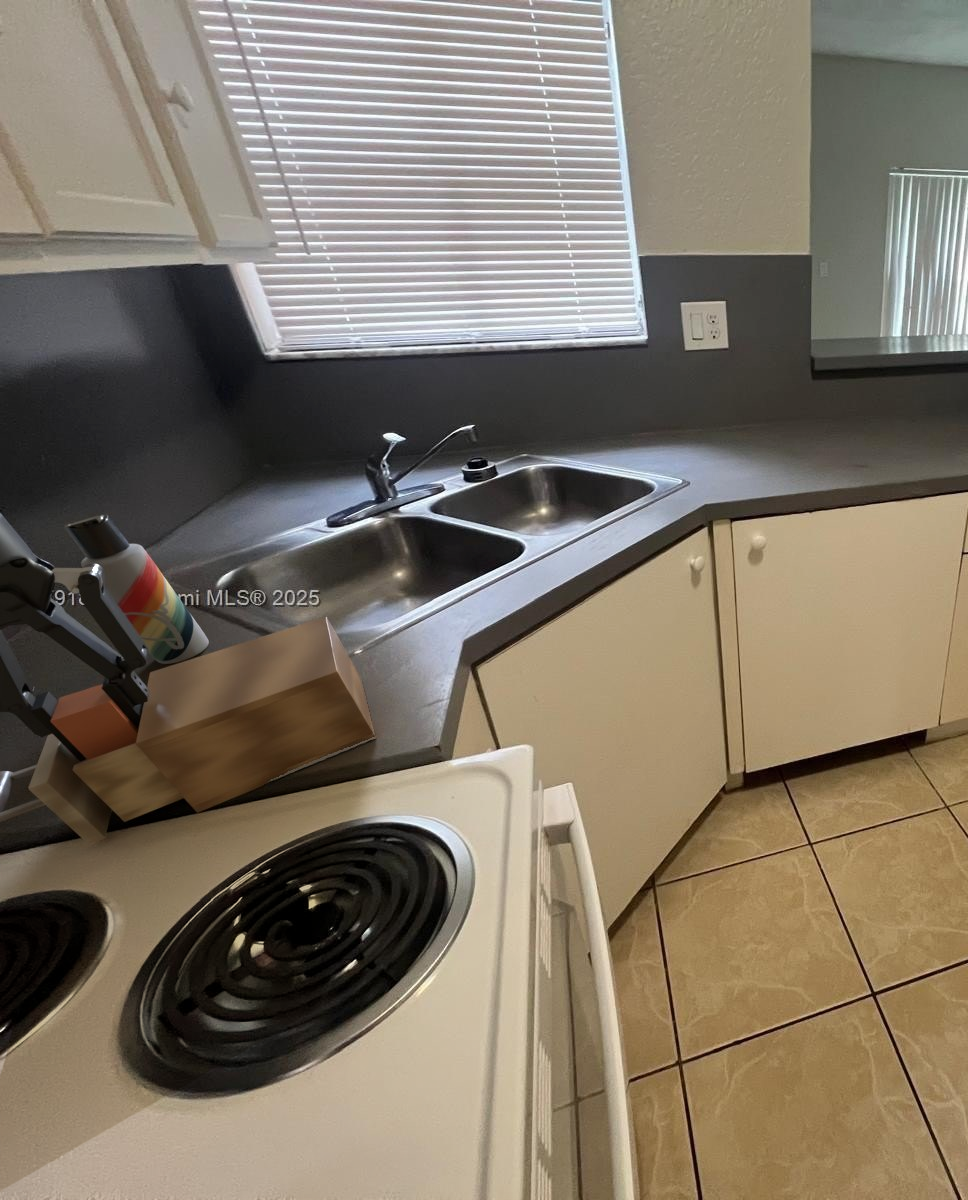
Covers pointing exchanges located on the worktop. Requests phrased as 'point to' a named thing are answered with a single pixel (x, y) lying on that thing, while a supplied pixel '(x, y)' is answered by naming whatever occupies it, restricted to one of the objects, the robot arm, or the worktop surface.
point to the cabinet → (253, 712)
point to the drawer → (91, 787)
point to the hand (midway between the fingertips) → (120, 739)
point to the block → (93, 722)
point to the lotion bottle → (139, 590)
